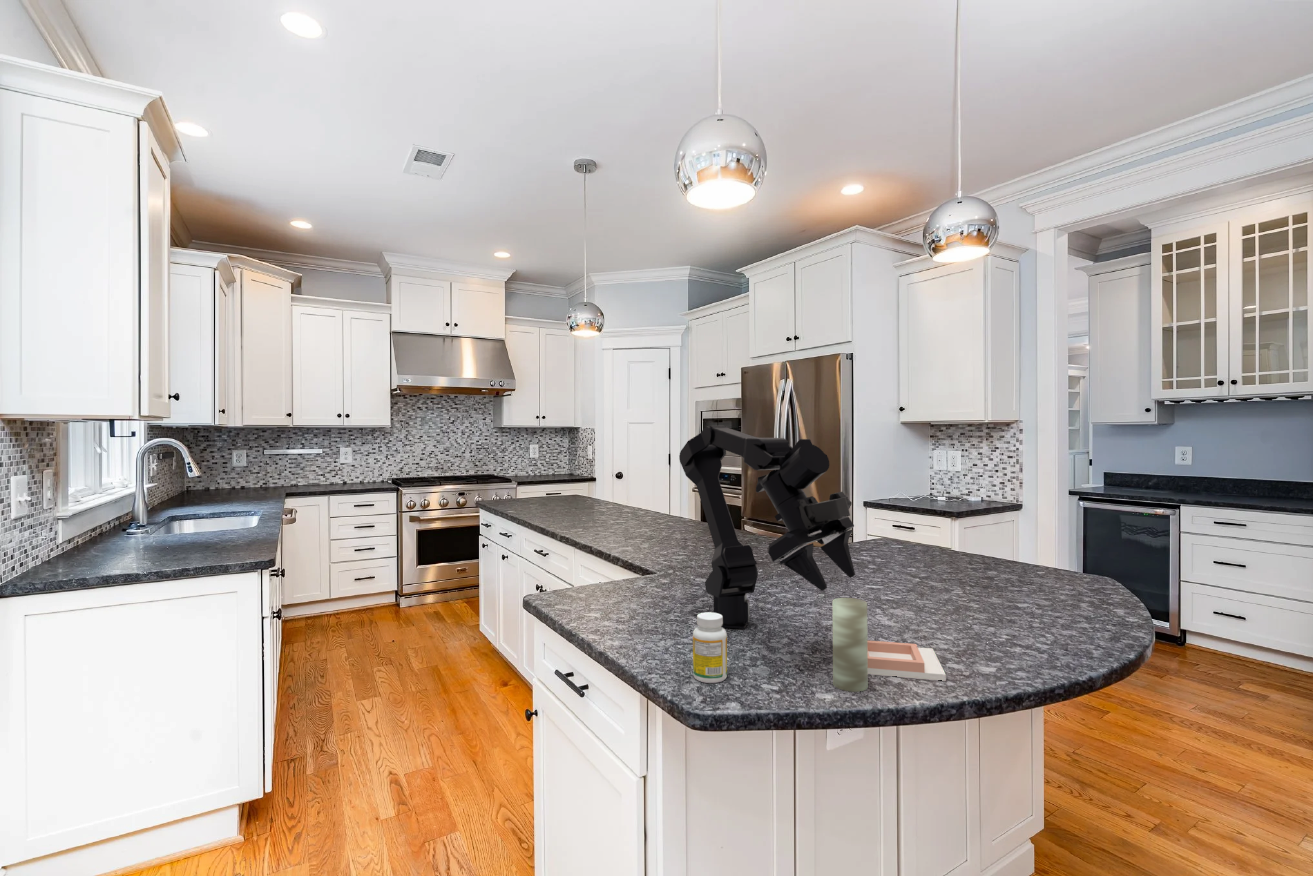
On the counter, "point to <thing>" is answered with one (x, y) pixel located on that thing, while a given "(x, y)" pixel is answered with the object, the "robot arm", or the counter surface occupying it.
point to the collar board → (903, 661)
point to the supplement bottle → (710, 648)
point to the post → (850, 644)
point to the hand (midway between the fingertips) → (839, 582)
